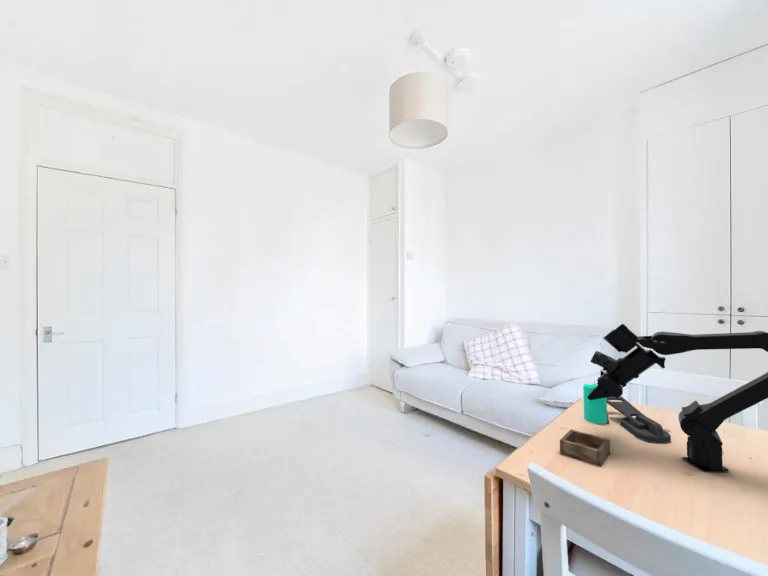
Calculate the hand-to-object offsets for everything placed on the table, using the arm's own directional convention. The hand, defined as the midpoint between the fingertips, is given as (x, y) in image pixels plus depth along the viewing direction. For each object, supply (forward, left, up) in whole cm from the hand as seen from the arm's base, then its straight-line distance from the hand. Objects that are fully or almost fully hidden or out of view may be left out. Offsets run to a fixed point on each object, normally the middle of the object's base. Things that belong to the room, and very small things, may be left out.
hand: (589, 396), depth 102 cm
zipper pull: (+9, -20, -14) cm, 26 cm away
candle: (-1, -1, -7) cm, 7 cm away
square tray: (-9, +7, -13) cm, 17 cm away
